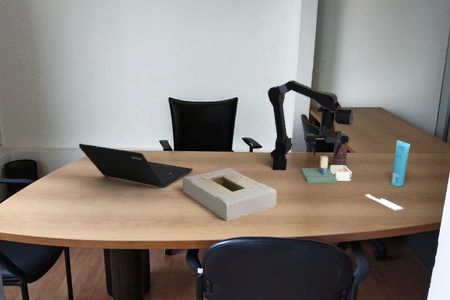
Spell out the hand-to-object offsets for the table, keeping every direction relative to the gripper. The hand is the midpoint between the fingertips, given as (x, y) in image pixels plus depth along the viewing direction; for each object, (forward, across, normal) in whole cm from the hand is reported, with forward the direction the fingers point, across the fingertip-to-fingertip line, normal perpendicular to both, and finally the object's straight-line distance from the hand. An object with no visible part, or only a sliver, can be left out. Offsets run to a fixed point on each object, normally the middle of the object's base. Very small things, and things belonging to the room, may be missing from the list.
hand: (324, 156), depth 173 cm
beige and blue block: (+8, 0, 0) cm, 8 cm away
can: (+10, +12, +16) cm, 23 cm away
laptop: (+10, -83, -3) cm, 83 cm away
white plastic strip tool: (+11, +17, -27) cm, 34 cm away
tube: (+10, +30, -9) cm, 33 cm away
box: (+10, -44, -25) cm, 52 cm away
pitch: (+10, -2, 0) cm, 10 cm away
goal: (+10, +8, 0) cm, 13 cm away
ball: (+8, +8, 0) cm, 12 cm away
